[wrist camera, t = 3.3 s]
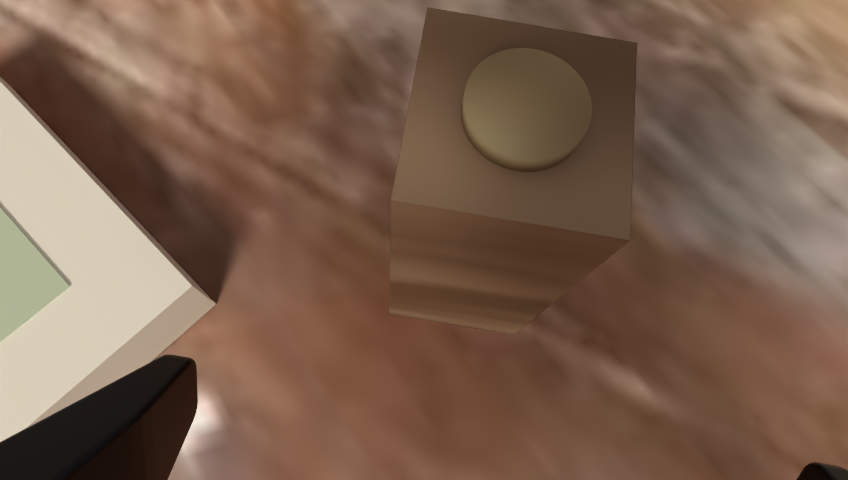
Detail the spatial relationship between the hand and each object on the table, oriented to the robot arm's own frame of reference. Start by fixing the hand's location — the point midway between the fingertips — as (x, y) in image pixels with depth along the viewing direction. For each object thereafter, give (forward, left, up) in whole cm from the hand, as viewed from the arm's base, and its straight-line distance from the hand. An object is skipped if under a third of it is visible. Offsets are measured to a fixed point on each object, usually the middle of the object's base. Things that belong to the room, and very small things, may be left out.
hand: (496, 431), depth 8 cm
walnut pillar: (+5, +3, -11) cm, 12 cm away
